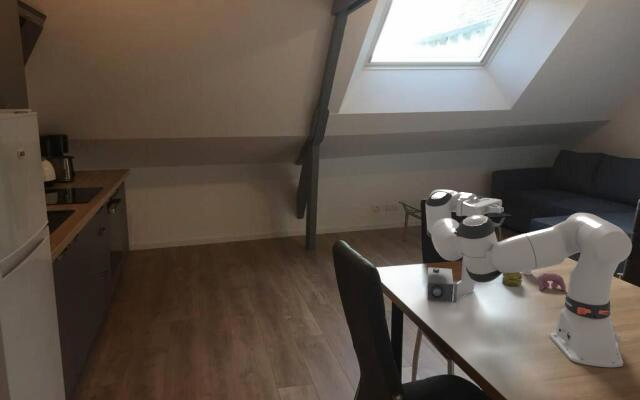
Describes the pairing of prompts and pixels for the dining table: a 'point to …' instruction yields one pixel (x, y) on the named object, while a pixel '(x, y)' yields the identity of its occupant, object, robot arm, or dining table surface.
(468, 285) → the side door
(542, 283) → the video game controller
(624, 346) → the dining table surface
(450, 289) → the camera body
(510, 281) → the gold stepped round piece
